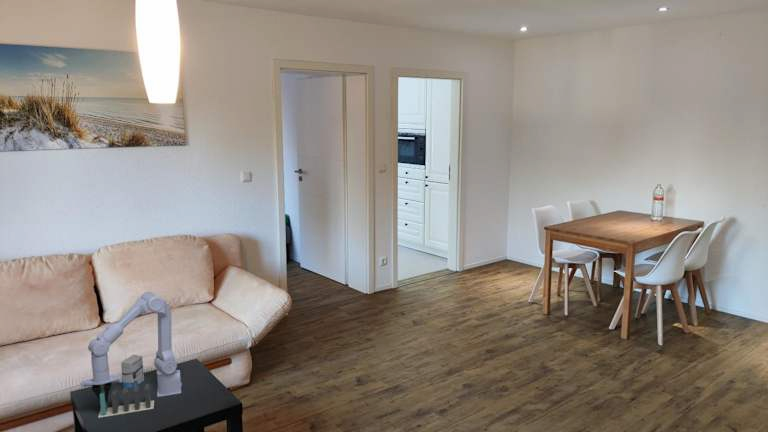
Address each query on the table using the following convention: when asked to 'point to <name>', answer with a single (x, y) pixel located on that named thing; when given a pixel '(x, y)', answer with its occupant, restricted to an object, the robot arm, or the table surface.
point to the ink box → (132, 371)
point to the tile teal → (103, 402)
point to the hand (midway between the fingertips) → (103, 401)
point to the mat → (121, 411)
